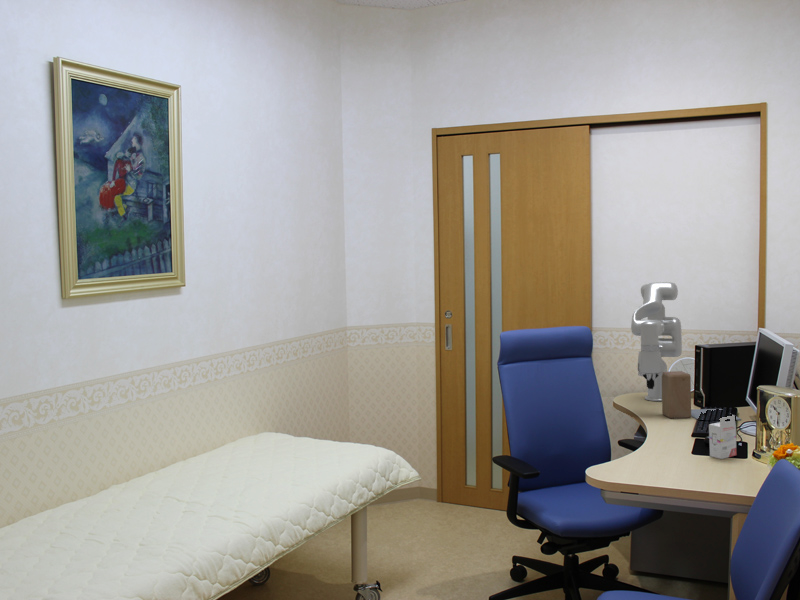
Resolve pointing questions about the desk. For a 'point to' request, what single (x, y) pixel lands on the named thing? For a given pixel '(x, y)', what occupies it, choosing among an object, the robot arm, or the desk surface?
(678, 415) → the wooden block
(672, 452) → the desk surface
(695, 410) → the mat
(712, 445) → the ink cartridge box
